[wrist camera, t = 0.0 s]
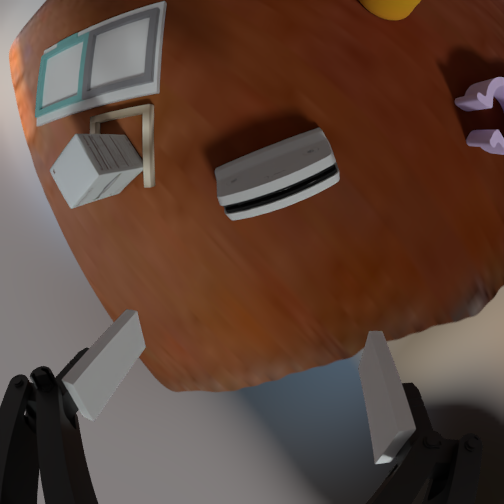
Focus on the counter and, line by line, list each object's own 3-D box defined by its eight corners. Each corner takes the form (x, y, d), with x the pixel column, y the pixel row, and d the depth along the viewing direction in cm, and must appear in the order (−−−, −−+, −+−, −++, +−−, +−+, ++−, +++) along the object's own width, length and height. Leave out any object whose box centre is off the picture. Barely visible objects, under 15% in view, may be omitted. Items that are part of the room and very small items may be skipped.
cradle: (95, 117, 39) (90, 117, 37) (154, 105, 37) (149, 103, 36) (97, 189, 43) (92, 190, 42) (155, 185, 41) (150, 187, 40)
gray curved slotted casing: (322, 126, 35) (342, 147, 27) (332, 155, 38) (353, 184, 30) (213, 169, 39) (202, 200, 32) (227, 195, 42) (221, 231, 34)
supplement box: (119, 194, 43) (69, 211, 31) (99, 161, 41) (47, 169, 29) (148, 167, 40) (99, 176, 29) (126, 132, 39) (74, 132, 27)
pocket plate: (47, 51, 34) (41, 50, 32) (166, 3, 30) (162, -2, 28) (39, 126, 40) (33, 126, 38) (159, 93, 36) (153, 91, 34)
